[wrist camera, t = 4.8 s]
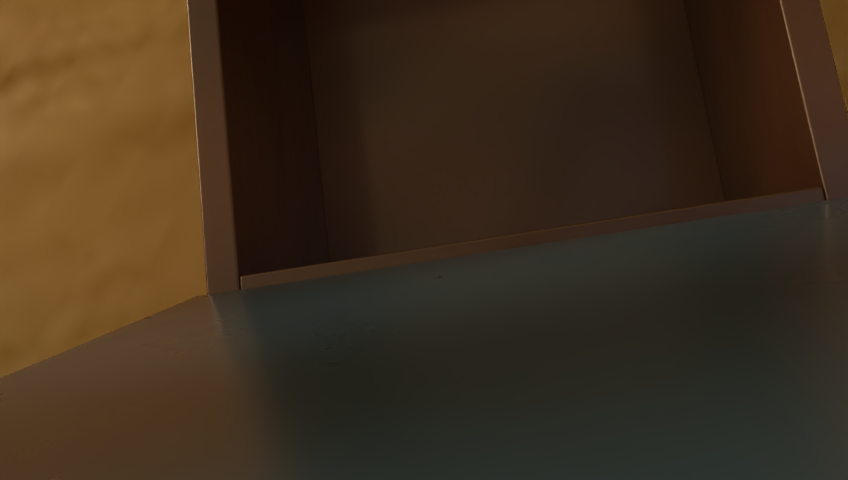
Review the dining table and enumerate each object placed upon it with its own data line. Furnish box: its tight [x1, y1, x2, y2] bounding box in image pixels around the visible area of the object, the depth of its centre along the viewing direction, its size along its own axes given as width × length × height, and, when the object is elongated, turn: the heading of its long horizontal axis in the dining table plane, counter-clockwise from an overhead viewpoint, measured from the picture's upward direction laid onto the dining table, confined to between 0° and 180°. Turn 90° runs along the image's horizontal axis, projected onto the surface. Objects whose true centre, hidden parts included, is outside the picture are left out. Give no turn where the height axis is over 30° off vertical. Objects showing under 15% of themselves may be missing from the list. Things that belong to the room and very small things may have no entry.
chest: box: [187, 0, 848, 295], centre depth 20 cm, size 13×12×8 cm
